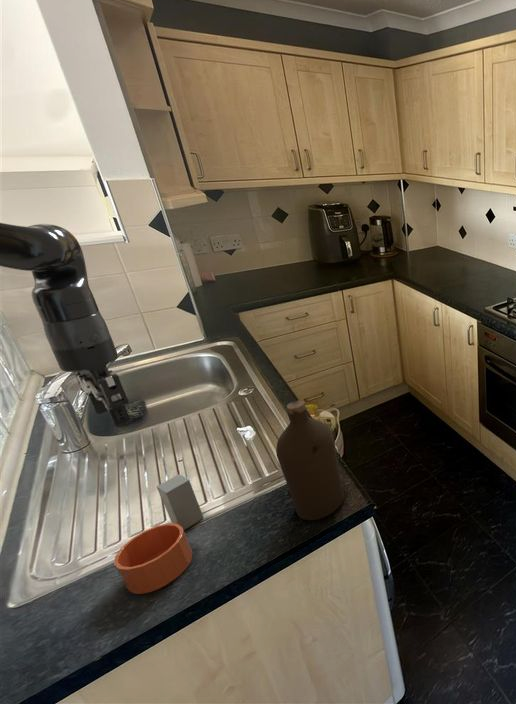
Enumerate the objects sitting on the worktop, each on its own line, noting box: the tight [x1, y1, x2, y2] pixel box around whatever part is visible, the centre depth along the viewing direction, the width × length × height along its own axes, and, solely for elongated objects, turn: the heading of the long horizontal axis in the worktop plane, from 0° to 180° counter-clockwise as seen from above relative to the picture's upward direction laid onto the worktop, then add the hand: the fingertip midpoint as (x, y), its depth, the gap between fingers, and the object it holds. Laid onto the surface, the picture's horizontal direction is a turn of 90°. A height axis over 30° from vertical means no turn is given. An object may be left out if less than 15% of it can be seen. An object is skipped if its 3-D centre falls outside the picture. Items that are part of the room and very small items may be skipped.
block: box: [156, 473, 204, 531], centre depth 83 cm, size 4×4×10 cm
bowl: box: [113, 522, 193, 595], centre depth 73 cm, size 9×9×6 cm
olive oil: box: [275, 399, 345, 521], centre depth 84 cm, size 11×11×25 cm
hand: (113, 417), depth 77 cm, fingers open, 8 cm apart
